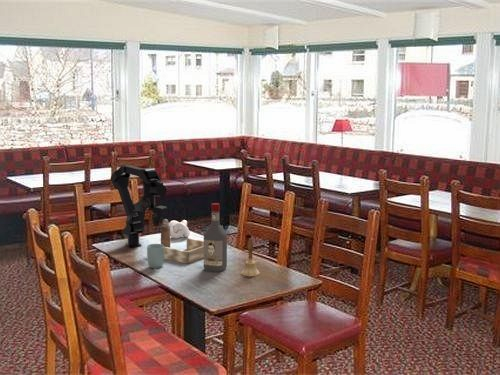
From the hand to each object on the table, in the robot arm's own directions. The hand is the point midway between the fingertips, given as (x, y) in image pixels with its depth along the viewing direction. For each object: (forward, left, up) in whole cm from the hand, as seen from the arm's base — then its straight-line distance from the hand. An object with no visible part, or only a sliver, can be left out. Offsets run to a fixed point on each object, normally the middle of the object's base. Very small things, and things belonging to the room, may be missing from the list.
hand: (149, 225), depth 304 cm
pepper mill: (+6, +6, -13) cm, 16 cm away
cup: (+27, -7, -13) cm, 31 cm away
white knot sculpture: (-19, +24, -13) cm, 33 cm away
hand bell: (+54, +27, -13) cm, 62 cm away
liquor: (+41, +16, -13) cm, 46 cm away
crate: (+18, +13, -13) cm, 26 cm away
